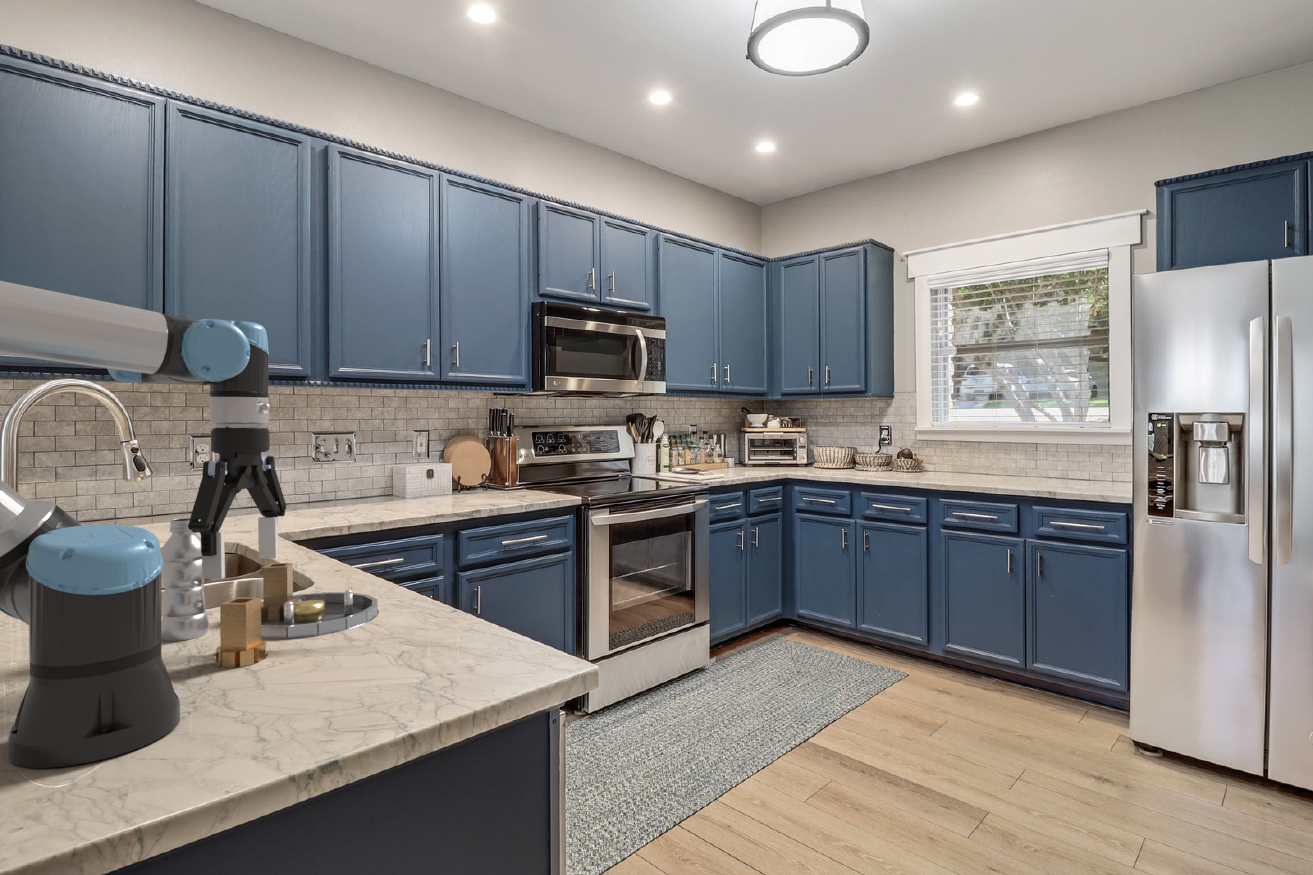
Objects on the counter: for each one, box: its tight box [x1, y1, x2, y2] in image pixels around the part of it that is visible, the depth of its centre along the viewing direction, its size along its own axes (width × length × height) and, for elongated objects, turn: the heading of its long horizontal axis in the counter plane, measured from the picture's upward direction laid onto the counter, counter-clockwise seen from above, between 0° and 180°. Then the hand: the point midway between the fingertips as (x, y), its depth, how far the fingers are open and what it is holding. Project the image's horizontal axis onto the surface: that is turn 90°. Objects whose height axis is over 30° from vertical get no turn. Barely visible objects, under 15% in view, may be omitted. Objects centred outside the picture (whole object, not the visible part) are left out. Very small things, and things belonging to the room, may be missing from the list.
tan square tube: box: [261, 562, 299, 620], centre depth 123 cm, size 6×6×9 cm
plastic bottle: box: [160, 517, 210, 642], centre depth 111 cm, size 6×7×20 cm
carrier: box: [261, 589, 380, 640], centre depth 121 cm, size 23×23×6 cm
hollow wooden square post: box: [215, 596, 267, 669], centre depth 103 cm, size 6×6×9 cm
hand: (242, 567), depth 103 cm, fingers open, 13 cm apart
